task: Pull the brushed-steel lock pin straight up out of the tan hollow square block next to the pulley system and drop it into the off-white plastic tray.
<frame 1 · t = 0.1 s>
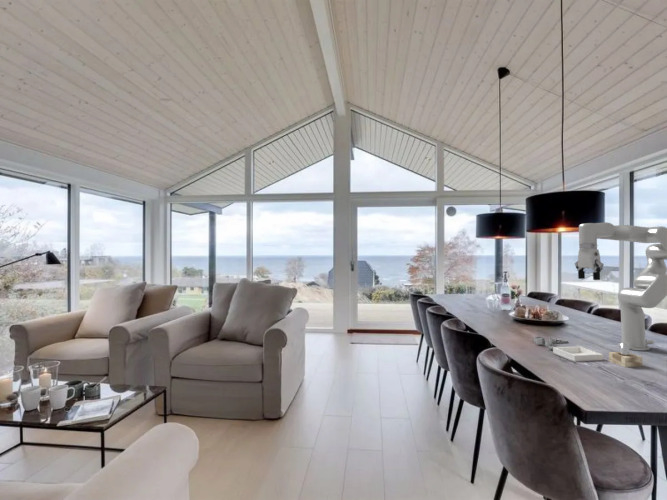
hand: (588, 279, 179), 37 cm above the table, tool pointing down, fingers open, 9 cm apart
pulley system: (549, 345, 190), on the table
tray: (577, 358, 165), on the table
tan hollow square block: (625, 365, 153), on the table
lock pin: (625, 363, 153), point 1 cm above the table, touching tan hollow square block
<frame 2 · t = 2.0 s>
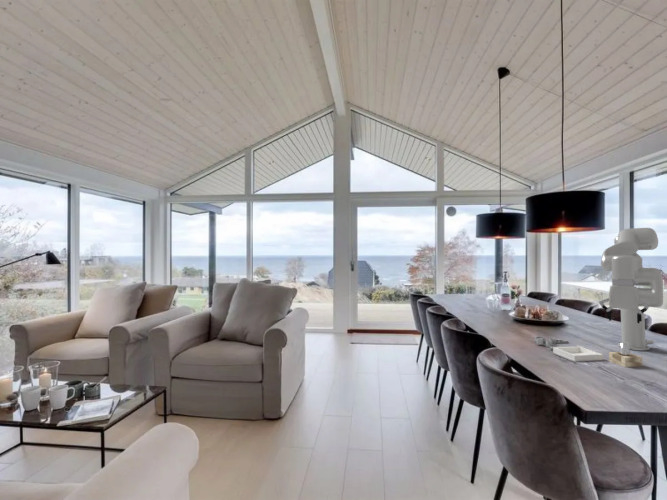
hand: (624, 321, 153), 20 cm above the table, tool pointing down, fingers open, 9 cm apart
nothing on the table moved.
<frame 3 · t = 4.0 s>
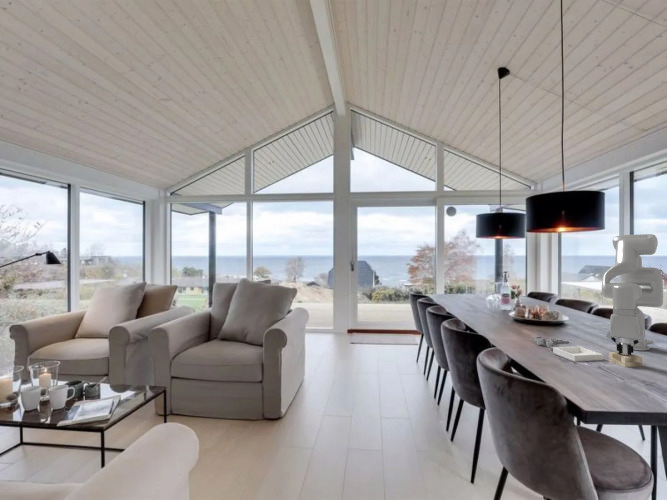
hand: (625, 353, 153), 6 cm above the table, tool pointing down, fingers closed on lock pin, 3 cm apart
lock pin: (625, 363, 153), point 1 cm above the table, touching gripper, tan hollow square block
everything else where it was.
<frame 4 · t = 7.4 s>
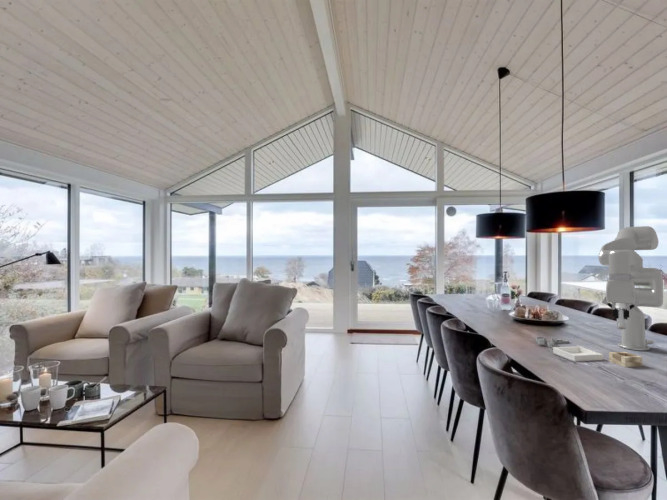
hand: (621, 318, 154), 21 cm above the table, tool pointing down, fingers closed on lock pin, 3 cm apart
lock pin: (621, 328, 154), point 16 cm above the table, touching gripper
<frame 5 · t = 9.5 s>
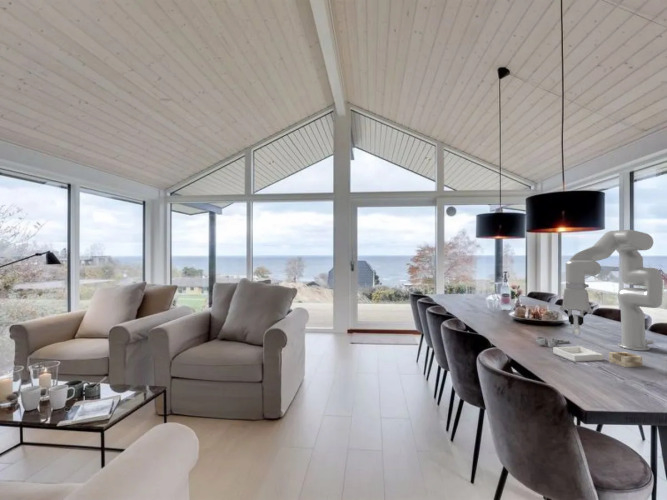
hand: (576, 324, 165), 16 cm above the table, tool pointing down, fingers closed on lock pin, 3 cm apart
lock pin: (576, 333, 165), point 12 cm above the table, touching gripper
when the fingers open (8 cm above the table, at t = 11.1 s): lock pin drops 2 cm, resting on tray.
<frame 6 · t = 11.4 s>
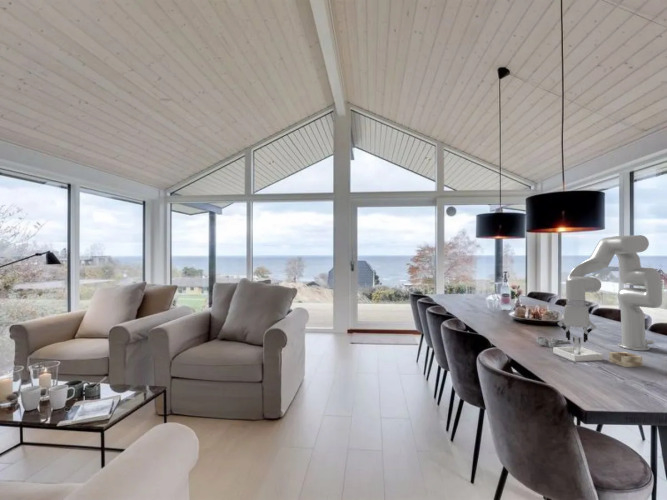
hand: (576, 340, 165), 9 cm above the table, tool pointing down, fingers open, 5 cm apart
lock pin: (577, 355, 165), point 1 cm above the table, touching tray
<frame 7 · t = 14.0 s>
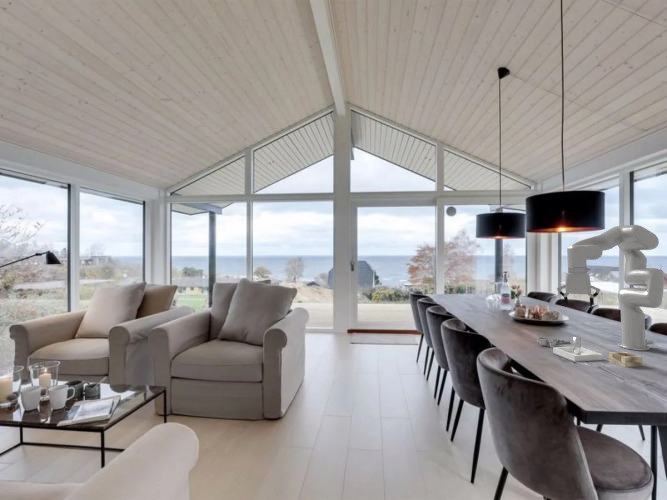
hand: (578, 305, 167), 25 cm above the table, tool pointing down, fingers open, 9 cm apart
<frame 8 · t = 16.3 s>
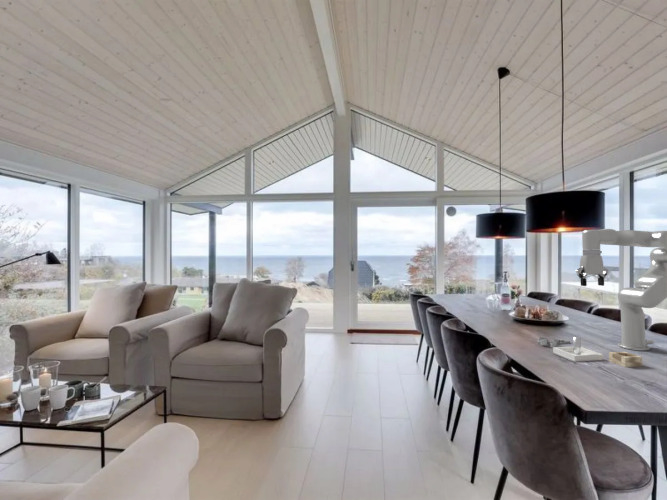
hand: (592, 285, 180), 33 cm above the table, tool pointing down, fingers open, 9 cm apart
at the end: lock pin inside the target area on the tray (0.1 cm from its centre), point 1.0 cm above the tray's base; the gripper is holding nothing; lock pin moved 17.6 cm from its start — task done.
